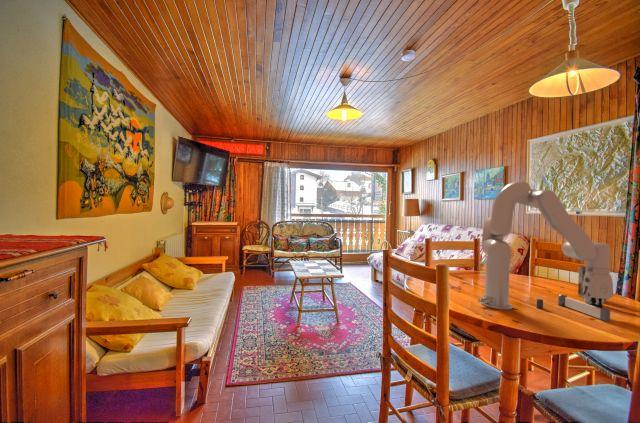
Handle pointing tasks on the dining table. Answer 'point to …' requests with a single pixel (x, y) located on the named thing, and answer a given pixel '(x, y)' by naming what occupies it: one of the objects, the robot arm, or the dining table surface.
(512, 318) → the dining table surface
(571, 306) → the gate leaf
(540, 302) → the stop post
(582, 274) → the coffee box
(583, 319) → the dining table surface
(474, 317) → the dining table surface
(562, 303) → the gate post
